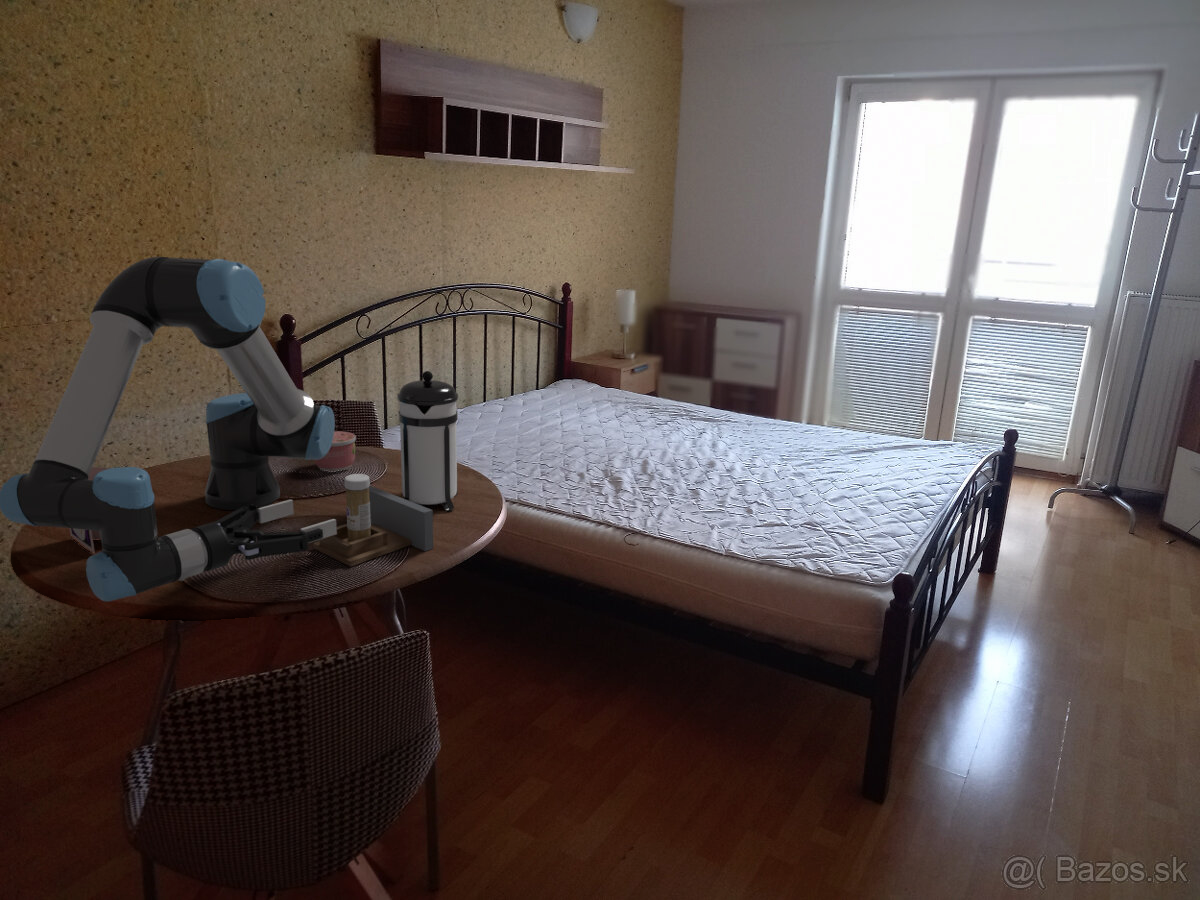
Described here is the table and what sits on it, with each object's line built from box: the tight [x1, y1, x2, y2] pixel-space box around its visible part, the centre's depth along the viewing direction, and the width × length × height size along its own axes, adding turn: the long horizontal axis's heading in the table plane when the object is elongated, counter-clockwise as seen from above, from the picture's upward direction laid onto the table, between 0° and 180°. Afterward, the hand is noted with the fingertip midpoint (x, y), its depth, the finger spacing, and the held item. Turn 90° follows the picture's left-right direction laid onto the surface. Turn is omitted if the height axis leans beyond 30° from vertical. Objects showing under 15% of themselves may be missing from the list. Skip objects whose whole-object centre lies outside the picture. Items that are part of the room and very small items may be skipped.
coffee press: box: [397, 370, 459, 512], centre depth 182 cm, size 17×16×30 cm
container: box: [313, 430, 357, 471], centre depth 204 cm, size 10×10×8 cm
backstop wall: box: [369, 485, 434, 552], centre depth 165 cm, size 2×20×8 cm, turn 51°
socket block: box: [312, 523, 412, 567], centre depth 160 cm, size 14×12×4 cm
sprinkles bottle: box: [344, 473, 371, 543], centre depth 158 cm, size 5×5×14 cm
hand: (313, 516), depth 150 cm, fingers open, 13 cm apart
